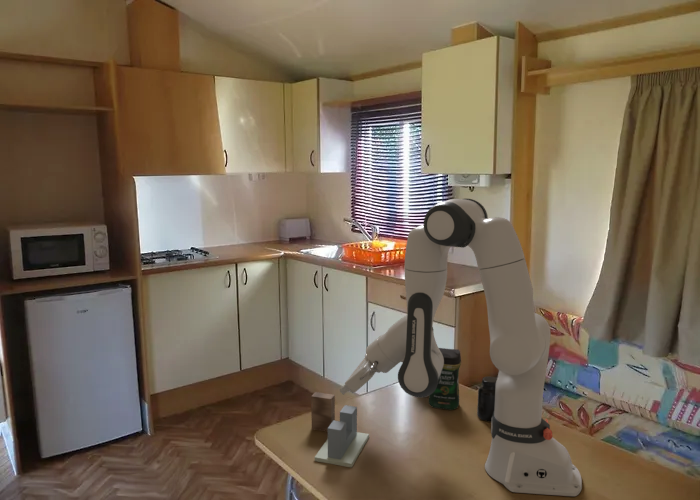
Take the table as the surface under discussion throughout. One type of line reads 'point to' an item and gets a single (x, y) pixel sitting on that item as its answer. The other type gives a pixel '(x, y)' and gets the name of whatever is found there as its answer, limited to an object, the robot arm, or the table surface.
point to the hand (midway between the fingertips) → (347, 384)
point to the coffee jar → (447, 382)
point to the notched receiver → (343, 440)
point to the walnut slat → (322, 410)
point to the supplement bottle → (486, 399)
